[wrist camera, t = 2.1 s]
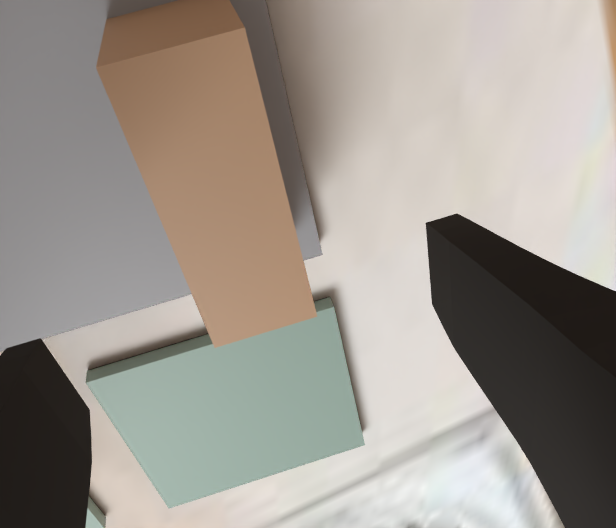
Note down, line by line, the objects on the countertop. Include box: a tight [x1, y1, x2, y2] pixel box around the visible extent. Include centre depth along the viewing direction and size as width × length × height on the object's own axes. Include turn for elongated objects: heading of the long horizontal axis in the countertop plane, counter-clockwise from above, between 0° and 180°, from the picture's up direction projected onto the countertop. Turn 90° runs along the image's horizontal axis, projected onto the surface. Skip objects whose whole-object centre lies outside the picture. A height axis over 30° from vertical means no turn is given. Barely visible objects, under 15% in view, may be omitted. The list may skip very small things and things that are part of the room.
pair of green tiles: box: [85, 297, 365, 528], centre depth 24 cm, size 22×9×1 cm, turn 101°
